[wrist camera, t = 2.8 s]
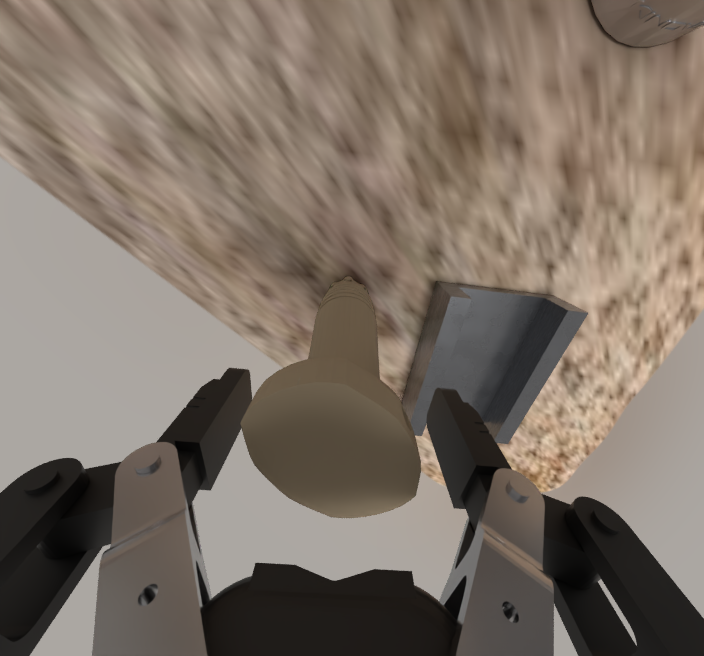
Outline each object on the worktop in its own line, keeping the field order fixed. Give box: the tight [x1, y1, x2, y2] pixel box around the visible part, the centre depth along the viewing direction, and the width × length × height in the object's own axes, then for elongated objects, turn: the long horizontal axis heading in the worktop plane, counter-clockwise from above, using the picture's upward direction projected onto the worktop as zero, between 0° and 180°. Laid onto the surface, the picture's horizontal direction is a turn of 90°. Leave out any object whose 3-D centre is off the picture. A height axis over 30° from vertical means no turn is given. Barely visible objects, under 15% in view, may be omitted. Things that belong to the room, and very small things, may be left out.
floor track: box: [402, 281, 588, 444], centre depth 22 cm, size 14×10×4 cm
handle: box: [240, 276, 421, 518], centre depth 14 cm, size 5×6×15 cm
